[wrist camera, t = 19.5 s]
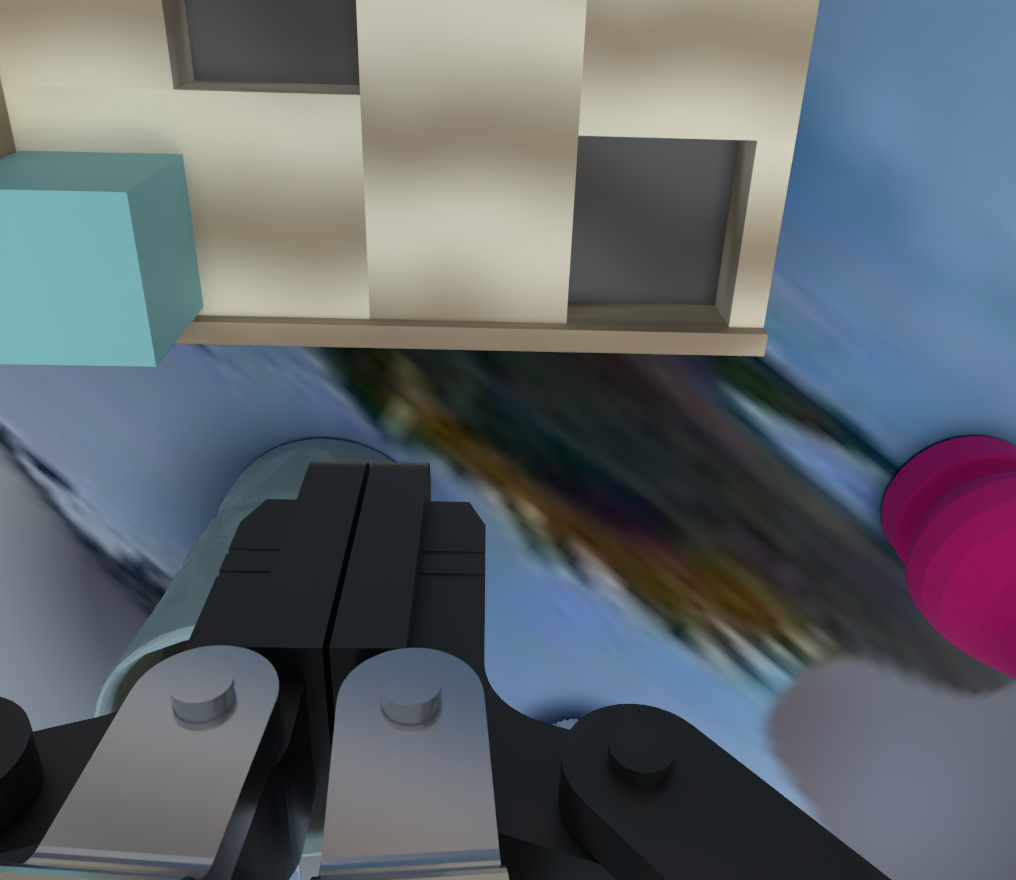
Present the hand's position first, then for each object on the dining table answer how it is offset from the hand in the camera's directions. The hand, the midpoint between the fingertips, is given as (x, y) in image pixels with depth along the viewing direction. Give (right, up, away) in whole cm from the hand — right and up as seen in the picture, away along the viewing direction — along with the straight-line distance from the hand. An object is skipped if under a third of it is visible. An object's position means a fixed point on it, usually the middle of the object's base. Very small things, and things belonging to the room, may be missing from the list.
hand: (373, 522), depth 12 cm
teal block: (-11, +8, +18) cm, 22 cm away
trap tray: (-2, +12, +18) cm, 22 cm away
